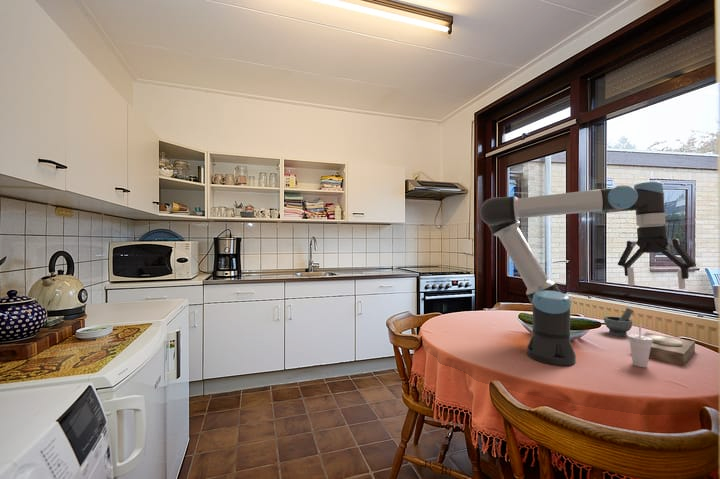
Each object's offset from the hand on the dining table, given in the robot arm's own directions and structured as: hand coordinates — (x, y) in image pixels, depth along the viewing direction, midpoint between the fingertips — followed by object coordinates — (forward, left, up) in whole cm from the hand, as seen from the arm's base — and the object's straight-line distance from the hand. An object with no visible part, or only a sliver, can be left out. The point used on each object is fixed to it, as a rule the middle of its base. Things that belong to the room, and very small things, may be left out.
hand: (655, 286), depth 109 cm
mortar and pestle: (-17, +31, -27) cm, 45 cm away
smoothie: (-2, -7, -27) cm, 28 cm away
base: (0, +16, -27) cm, 31 cm away
